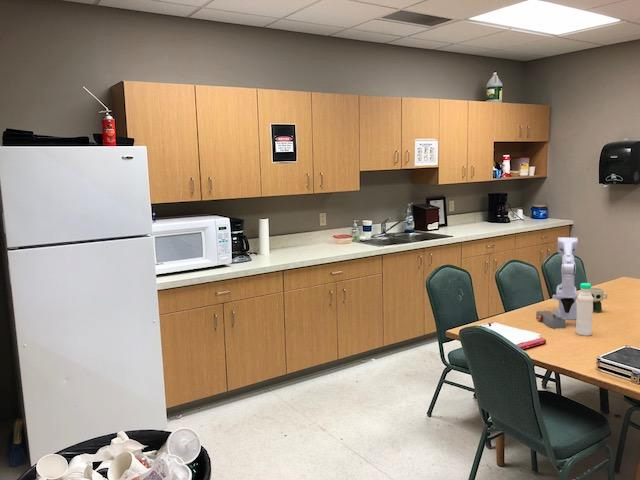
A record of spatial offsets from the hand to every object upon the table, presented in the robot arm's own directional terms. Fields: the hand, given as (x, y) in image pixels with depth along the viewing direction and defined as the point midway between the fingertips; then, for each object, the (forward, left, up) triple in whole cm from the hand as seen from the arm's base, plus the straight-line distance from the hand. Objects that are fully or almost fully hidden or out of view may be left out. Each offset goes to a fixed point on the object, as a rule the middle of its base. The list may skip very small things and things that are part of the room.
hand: (566, 312), depth 265 cm
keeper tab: (+5, 0, -2) cm, 5 cm away
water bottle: (-1, +15, -7) cm, 16 cm away
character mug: (-28, -23, -7) cm, 37 cm away
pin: (+5, -8, -6) cm, 12 cm away
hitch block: (+6, -4, -7) cm, 10 cm away
